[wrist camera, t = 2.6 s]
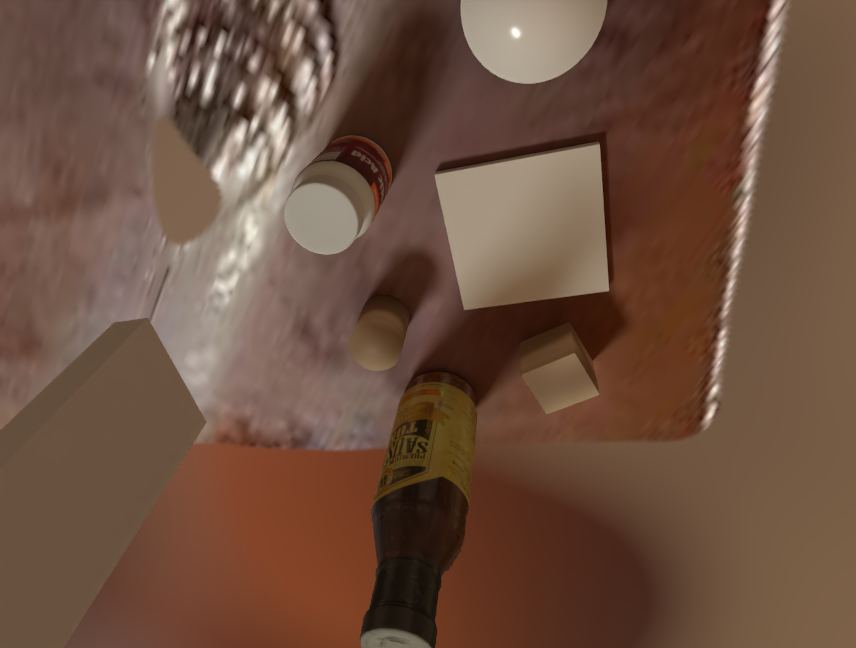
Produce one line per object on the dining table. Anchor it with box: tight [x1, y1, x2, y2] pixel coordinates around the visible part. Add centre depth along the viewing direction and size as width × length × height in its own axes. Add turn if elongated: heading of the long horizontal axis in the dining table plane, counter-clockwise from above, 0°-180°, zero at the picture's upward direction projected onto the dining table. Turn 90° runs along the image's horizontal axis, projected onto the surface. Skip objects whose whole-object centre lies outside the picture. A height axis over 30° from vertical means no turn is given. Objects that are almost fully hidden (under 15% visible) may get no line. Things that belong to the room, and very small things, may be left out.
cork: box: [349, 295, 410, 371], centre depth 40 cm, size 4×4×4 cm
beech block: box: [519, 321, 600, 414], centre depth 40 cm, size 4×4×4 cm
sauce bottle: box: [360, 371, 477, 648], centre depth 37 cm, size 7×6×20 cm
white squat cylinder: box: [461, 0, 607, 84], centre depth 29 cm, size 7×7×4 cm
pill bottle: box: [284, 135, 392, 254], centre depth 33 cm, size 5×5×8 cm
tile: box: [435, 141, 609, 310], centre depth 37 cm, size 10×10×1 cm
